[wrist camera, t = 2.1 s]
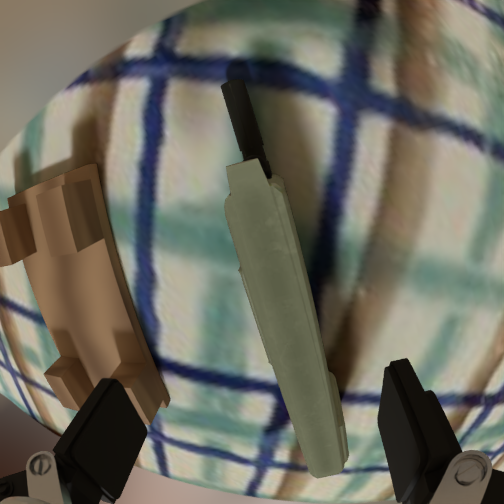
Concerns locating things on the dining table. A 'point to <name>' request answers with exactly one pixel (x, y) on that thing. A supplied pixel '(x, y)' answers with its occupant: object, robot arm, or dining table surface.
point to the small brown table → (80, 290)
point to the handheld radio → (281, 293)
